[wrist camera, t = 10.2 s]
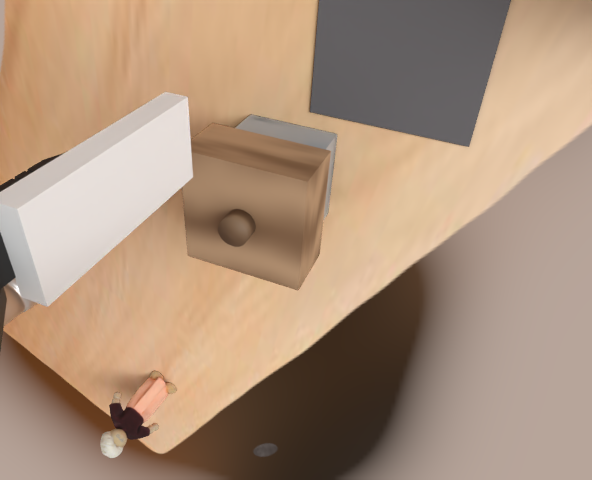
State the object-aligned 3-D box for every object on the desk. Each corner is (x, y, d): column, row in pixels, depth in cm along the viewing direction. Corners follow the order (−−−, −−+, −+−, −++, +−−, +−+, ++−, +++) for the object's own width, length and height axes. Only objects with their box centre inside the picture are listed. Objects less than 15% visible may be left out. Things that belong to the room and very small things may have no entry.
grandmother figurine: (186, 390, 76) (133, 467, 66) (177, 400, 78) (124, 476, 69) (142, 357, 75) (83, 431, 66) (135, 369, 78) (76, 441, 68)
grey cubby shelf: (250, 114, 46) (224, 137, 43) (337, 134, 44) (317, 159, 41) (250, 192, 51) (226, 218, 47) (328, 213, 49) (309, 242, 45)
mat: (325, -69, 36) (324, -68, 36) (523, -44, 33) (523, -43, 33) (310, 111, 44) (310, 111, 44) (469, 145, 41) (469, 146, 41)
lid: (212, 122, 42) (167, 157, 37) (330, 150, 40) (299, 192, 35) (216, 224, 48) (178, 266, 43) (319, 254, 46) (291, 302, 41)
